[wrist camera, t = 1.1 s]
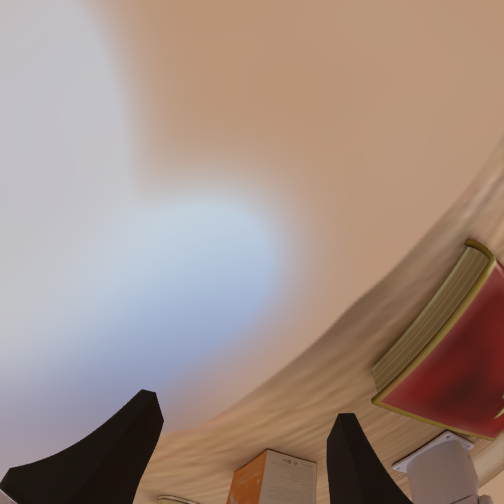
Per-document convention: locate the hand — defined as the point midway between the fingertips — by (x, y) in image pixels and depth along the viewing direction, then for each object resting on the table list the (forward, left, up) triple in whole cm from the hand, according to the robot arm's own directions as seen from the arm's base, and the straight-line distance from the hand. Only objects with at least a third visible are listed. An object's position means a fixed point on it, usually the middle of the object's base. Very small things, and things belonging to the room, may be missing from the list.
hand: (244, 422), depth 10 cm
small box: (-13, +16, -9) cm, 23 cm away
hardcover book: (-18, -8, -10) cm, 22 cm away
